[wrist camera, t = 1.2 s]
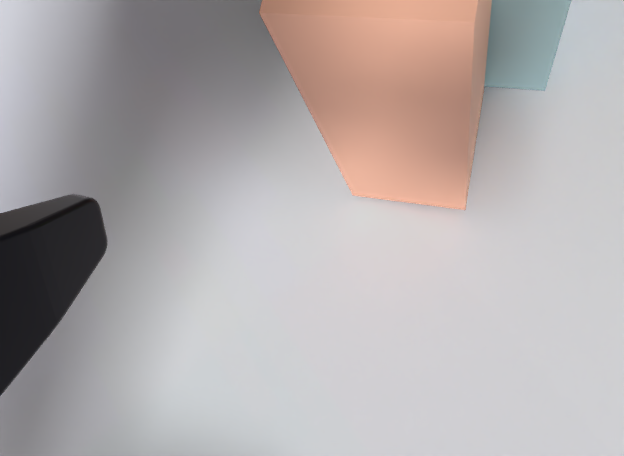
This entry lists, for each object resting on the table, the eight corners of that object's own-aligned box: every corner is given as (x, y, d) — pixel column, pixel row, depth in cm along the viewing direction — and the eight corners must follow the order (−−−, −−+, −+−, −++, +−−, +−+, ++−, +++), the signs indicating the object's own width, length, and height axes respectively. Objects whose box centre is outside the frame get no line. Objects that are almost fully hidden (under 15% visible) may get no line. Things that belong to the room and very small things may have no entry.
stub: (465, 210, 22) (474, 12, 11) (352, 195, 24) (254, 3, 12) (483, 91, 23) (510, -203, 12) (375, 83, 25) (304, -191, 13)
